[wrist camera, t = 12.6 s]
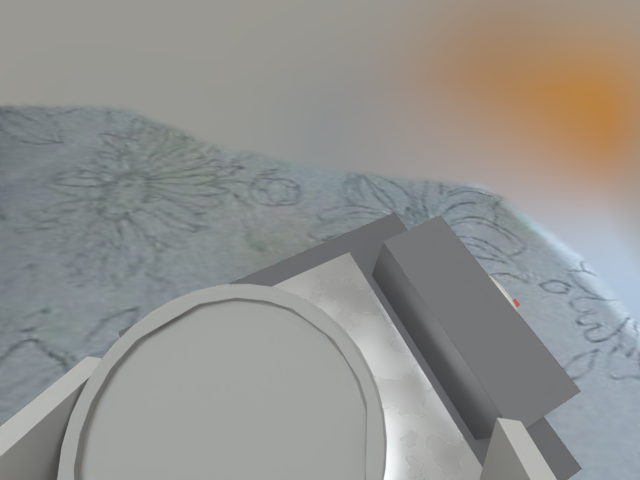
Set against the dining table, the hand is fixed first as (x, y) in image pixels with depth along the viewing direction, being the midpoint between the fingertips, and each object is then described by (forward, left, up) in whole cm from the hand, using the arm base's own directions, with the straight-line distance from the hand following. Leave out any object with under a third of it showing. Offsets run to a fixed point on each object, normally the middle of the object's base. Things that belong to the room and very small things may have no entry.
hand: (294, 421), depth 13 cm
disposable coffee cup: (-2, -3, -10) cm, 10 cm away
